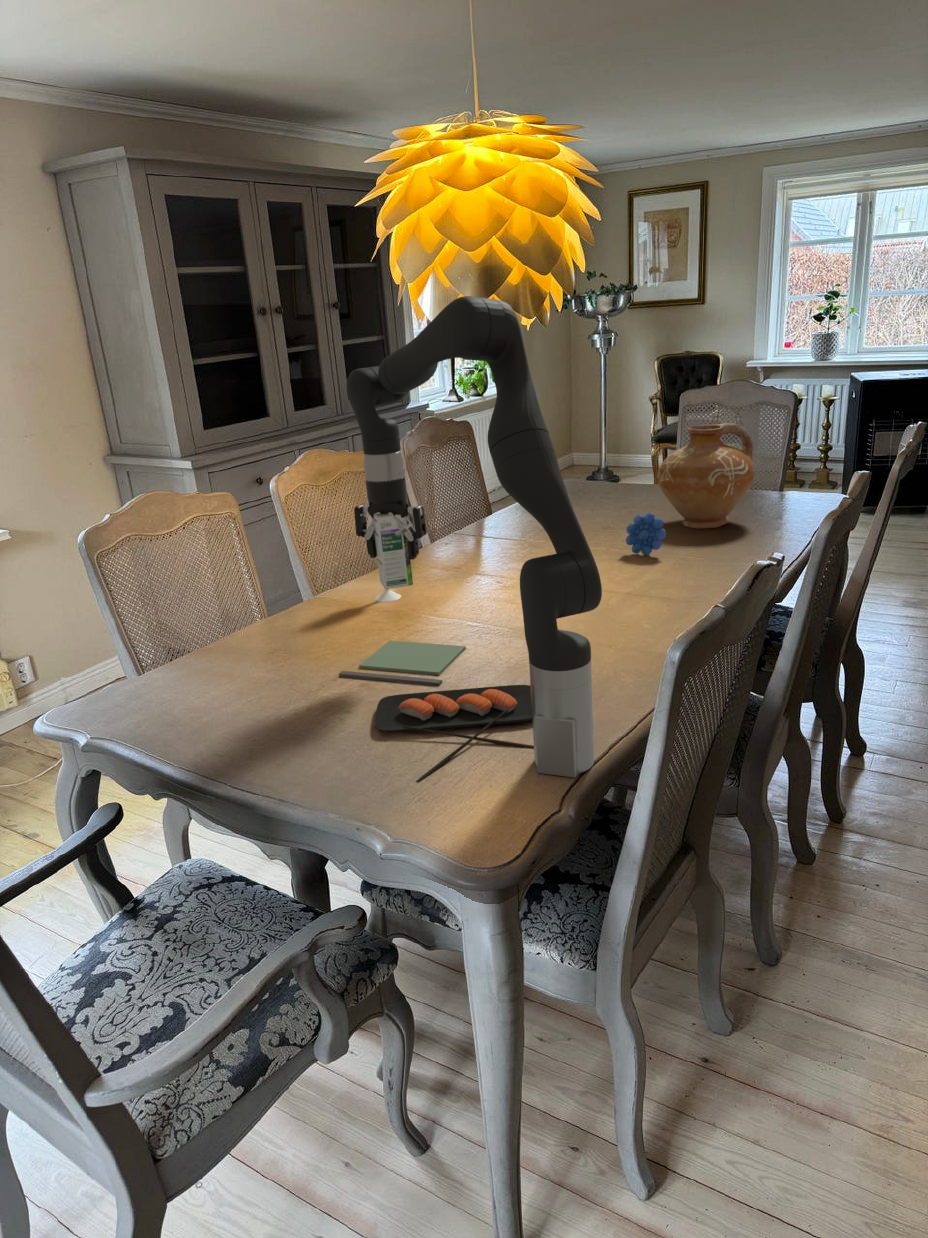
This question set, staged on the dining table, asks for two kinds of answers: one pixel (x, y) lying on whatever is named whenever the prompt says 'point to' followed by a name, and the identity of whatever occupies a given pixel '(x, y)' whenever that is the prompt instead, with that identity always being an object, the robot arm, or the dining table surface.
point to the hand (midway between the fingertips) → (393, 557)
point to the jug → (708, 475)
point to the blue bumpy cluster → (645, 534)
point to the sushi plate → (455, 712)
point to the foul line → (391, 678)
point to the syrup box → (392, 552)
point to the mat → (413, 657)
